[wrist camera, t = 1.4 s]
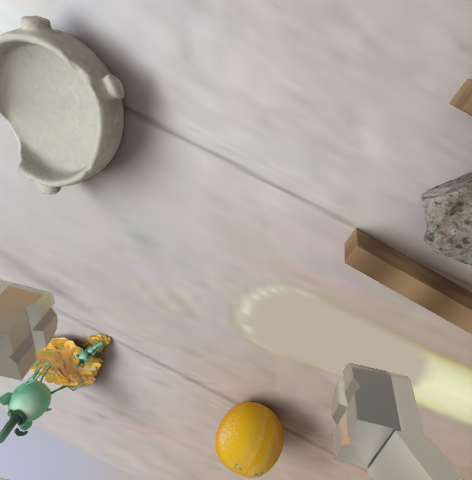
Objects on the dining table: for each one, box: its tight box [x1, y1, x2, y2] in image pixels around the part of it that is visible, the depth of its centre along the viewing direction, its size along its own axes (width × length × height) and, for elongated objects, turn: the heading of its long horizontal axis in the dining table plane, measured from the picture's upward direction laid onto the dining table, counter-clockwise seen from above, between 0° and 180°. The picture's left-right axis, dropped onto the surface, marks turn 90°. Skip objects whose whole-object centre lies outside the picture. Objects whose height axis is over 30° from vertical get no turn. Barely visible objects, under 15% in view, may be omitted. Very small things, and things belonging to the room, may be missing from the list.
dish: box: [0, 16, 125, 195], centre depth 37 cm, size 14×14×5 cm
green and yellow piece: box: [0, 334, 111, 443], centre depth 51 cm, size 10×18×15 cm, turn 113°
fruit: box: [216, 402, 283, 478], centre depth 49 cm, size 9×8×8 cm
